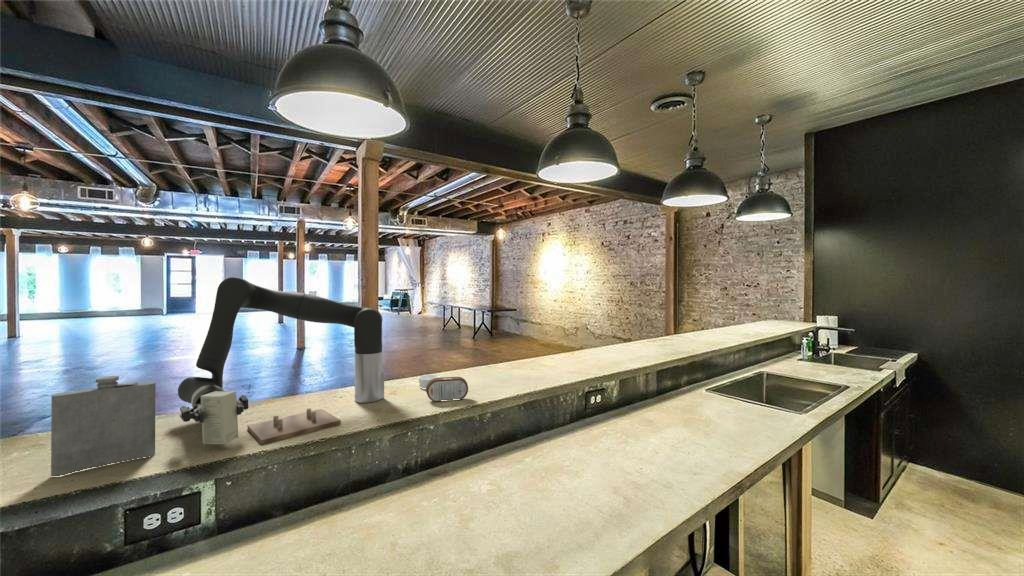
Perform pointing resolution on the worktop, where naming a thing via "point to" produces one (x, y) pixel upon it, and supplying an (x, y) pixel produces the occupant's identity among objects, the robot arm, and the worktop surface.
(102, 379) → the hip flask
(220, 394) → the skincare box
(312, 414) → the pin tray
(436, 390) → the tin
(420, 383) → the ramekin
